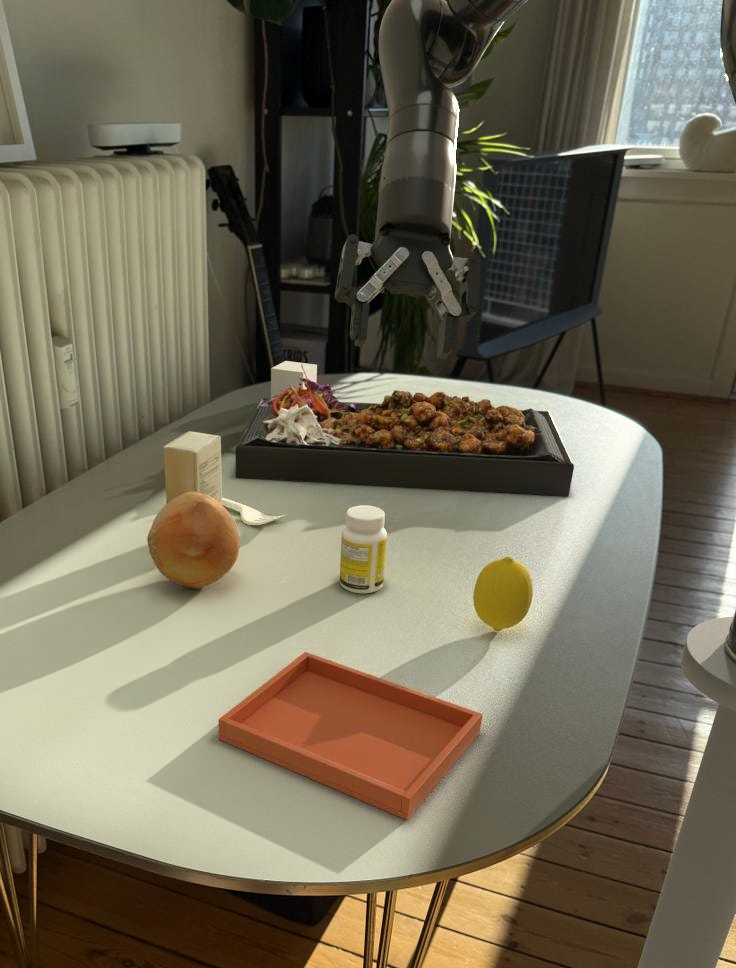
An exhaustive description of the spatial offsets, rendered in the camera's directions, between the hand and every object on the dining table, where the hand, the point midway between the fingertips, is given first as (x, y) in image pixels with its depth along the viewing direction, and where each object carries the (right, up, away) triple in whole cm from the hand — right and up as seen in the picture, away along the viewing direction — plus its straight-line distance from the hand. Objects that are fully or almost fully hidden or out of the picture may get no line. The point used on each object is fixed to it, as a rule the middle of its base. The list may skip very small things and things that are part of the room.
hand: (402, 350), depth 93 cm
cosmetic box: (-22, -17, +18) cm, 33 cm away
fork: (-19, -12, +27) cm, 35 cm away
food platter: (+7, -2, +45) cm, 45 cm away
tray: (-7, -37, -16) cm, 41 cm away
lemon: (+9, -28, 0) cm, 30 cm away
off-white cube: (-8, +13, +70) cm, 72 cm away
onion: (-21, -23, +8) cm, 32 cm away
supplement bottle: (-3, -23, +8) cm, 25 cm away
